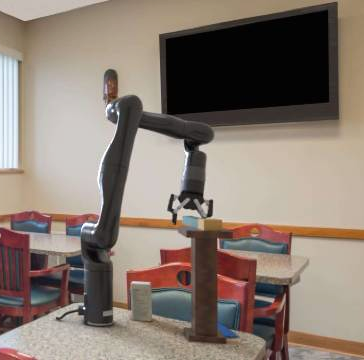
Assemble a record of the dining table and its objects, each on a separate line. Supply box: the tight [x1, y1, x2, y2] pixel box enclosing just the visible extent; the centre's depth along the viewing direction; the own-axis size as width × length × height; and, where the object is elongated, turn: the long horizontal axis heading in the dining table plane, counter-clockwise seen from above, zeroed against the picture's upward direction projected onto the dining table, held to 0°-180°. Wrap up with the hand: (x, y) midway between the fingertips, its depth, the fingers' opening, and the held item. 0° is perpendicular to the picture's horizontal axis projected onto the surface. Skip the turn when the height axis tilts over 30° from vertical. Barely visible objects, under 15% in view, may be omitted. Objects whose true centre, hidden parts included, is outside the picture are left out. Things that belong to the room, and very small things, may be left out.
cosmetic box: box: [130, 280, 153, 322], centre depth 163 cm, size 6×4×12 cm
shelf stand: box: [177, 225, 234, 344], centre depth 144 cm, size 12×14×32 cm
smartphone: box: [218, 320, 238, 339], centre depth 152 cm, size 7×1×15 cm
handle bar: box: [181, 215, 223, 231], centre depth 150 cm, size 5×22×3 cm, turn 175°
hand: (187, 226), depth 167 cm, fingers open, 8 cm apart
